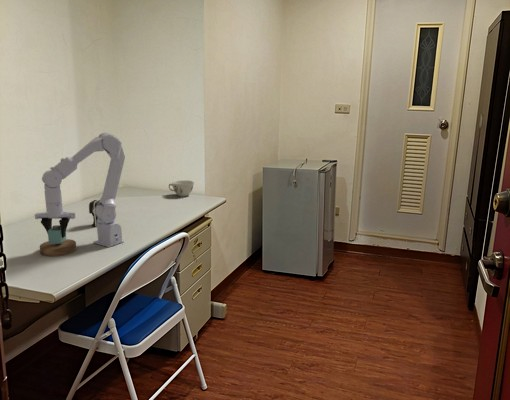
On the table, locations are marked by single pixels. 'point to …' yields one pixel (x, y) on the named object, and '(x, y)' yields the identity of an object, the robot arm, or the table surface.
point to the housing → (55, 235)
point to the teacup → (182, 187)
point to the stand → (58, 248)
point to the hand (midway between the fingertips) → (57, 236)
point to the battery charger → (93, 211)
